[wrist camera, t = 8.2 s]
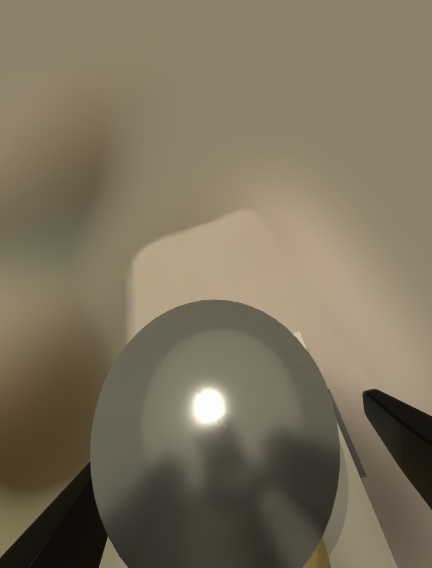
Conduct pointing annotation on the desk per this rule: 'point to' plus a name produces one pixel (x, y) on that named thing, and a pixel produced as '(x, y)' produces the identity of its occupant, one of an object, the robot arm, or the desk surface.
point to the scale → (353, 513)
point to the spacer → (215, 443)
